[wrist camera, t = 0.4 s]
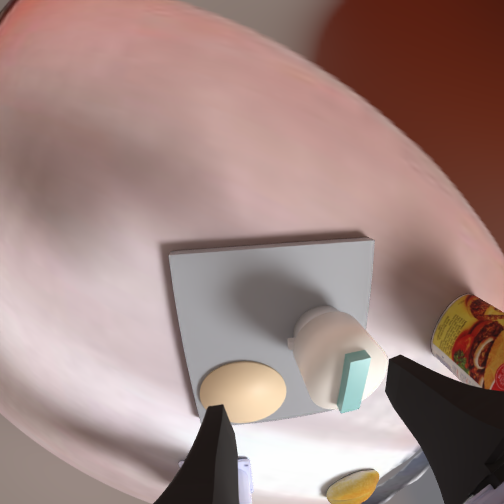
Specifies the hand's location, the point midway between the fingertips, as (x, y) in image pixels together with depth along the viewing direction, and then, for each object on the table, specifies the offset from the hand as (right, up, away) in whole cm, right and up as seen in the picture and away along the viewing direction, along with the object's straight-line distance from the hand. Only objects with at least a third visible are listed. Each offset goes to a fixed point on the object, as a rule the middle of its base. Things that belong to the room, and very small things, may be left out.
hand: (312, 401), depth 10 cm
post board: (-1, -1, +11) cm, 11 cm away
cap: (+3, 0, +8) cm, 8 cm away
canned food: (+19, -2, +13) cm, 24 cm away
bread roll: (+13, -29, +20) cm, 38 cm away
